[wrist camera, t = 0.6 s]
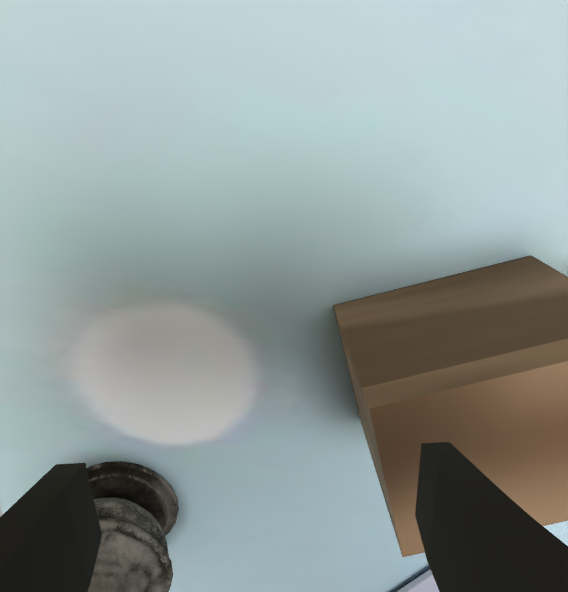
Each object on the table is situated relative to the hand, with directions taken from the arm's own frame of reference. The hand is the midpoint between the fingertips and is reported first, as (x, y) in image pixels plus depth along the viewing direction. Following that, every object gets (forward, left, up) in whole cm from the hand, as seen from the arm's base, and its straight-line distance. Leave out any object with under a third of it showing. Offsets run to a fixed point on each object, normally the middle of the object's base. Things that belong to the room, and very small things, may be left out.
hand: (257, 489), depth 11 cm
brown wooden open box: (-7, -4, -10) cm, 12 cm away
